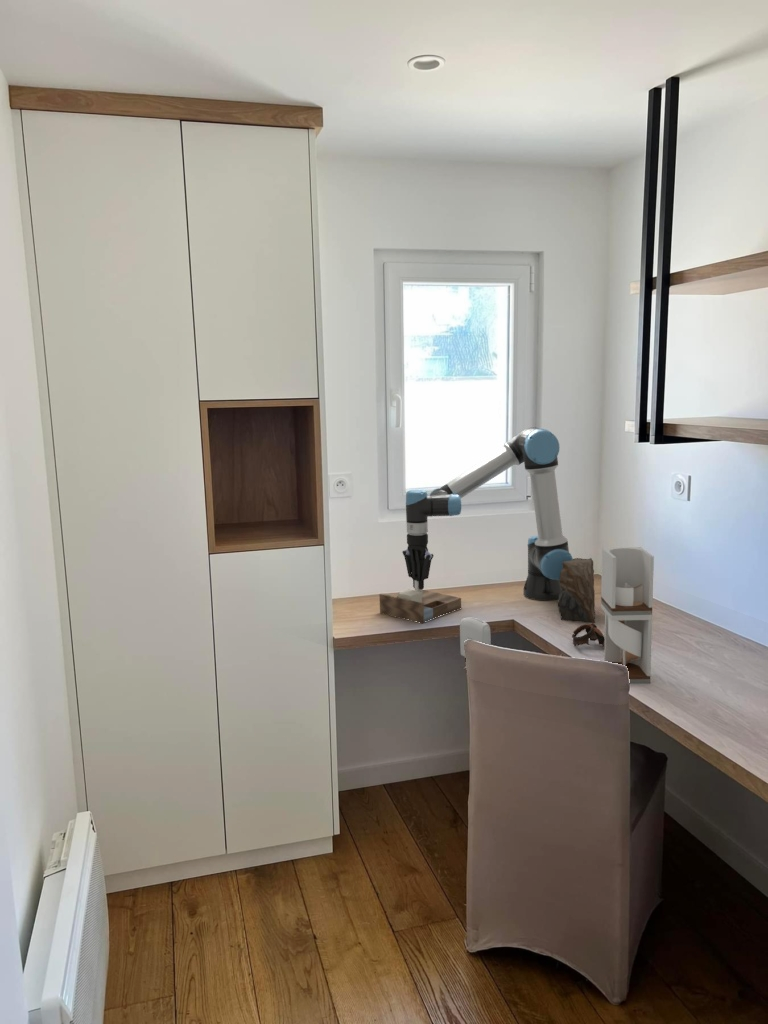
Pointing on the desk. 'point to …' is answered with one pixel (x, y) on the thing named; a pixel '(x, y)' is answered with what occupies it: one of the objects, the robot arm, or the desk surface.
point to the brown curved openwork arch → (588, 635)
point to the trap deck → (419, 606)
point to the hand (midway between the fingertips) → (418, 597)
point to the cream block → (411, 595)
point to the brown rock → (577, 591)
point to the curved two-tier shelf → (628, 609)
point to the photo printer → (474, 632)
